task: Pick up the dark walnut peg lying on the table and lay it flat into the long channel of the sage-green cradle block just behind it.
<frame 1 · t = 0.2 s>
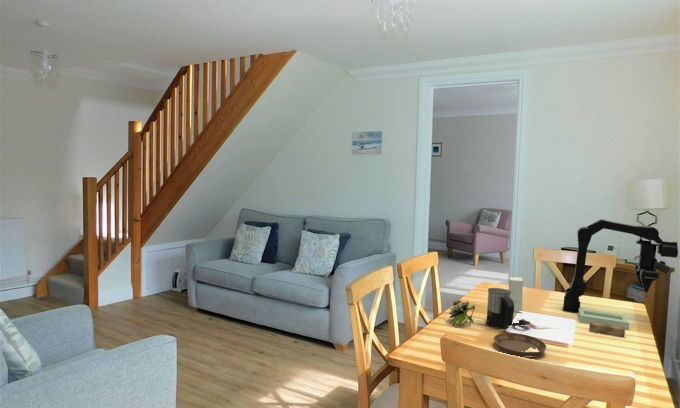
hand: (644, 289, 198), 15 cm above the table, tool pointing down, fingers open, 9 cm apart
skincare box: (514, 310, 209), on the table
plant saucer: (518, 350, 162), on the table
sage cradle: (602, 321, 197), on the table
green leafy plant: (462, 324, 187), on the table
walnut peg: (606, 334, 182), on the table
milk frother: (507, 326, 186), on the table
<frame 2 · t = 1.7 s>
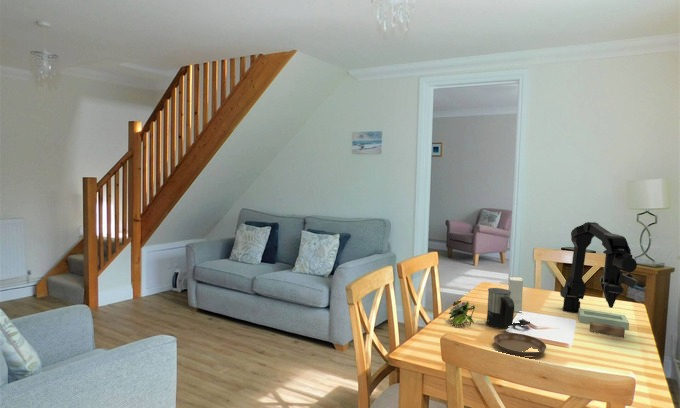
hand: (609, 304, 181), 12 cm above the table, tool pointing down, fingers open, 9 cm apart
nothing on the table moved.
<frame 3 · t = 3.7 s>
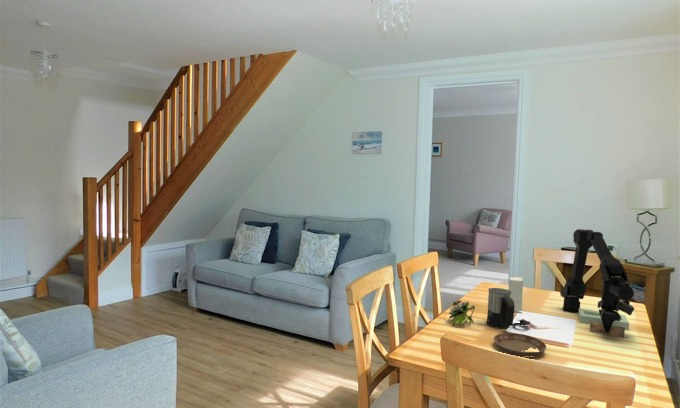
hand: (606, 330, 182), 1 cm above the table, tool pointing down, fingers closed on walnut peg, 4 cm apart
walnut peg: (606, 333, 182), on the table, touching gripper
everything else where it was.
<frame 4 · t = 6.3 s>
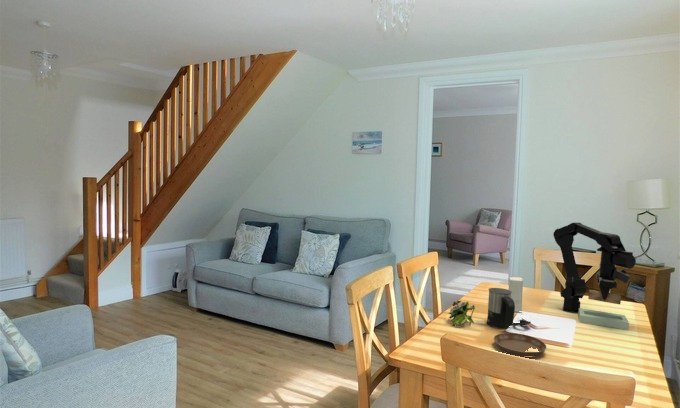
hand: (604, 298, 195), 11 cm above the table, tool pointing down, fingers closed on walnut peg, 4 cm apart
walnut peg: (604, 300, 195), point 10 cm above the table, touching gripper
everything else where it was.
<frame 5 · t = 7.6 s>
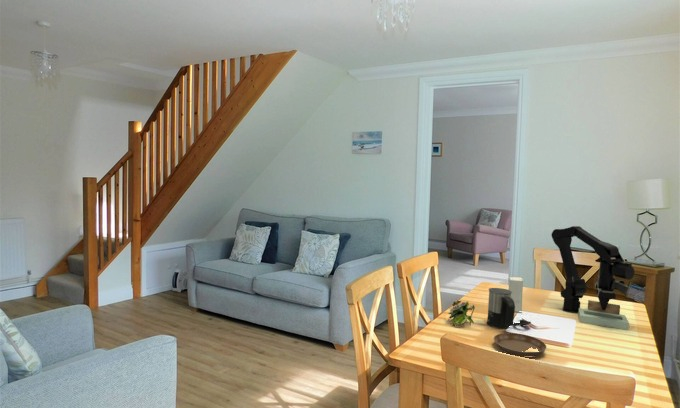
hand: (603, 308, 196), 6 cm above the table, tool pointing down, fingers closed on walnut peg, 4 cm apart
walnut peg: (603, 311, 196), point 5 cm above the table, touching gripper
everything else where it was.
when the fingers open (4 cm above the table, at t = 8.6 s): walnut peg drops 2 cm, resting on sage cradle.
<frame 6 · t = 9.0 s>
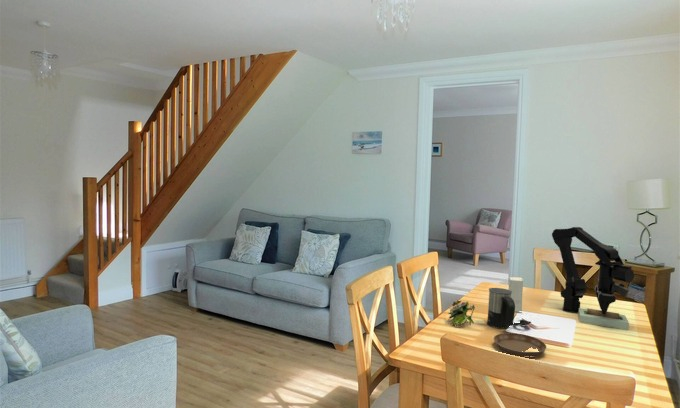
hand: (603, 311, 196), 4 cm above the table, tool pointing down, fingers open, 8 cm apart
walnut peg: (602, 319, 197), point 1 cm above the table, touching sage cradle
everything else where it was.
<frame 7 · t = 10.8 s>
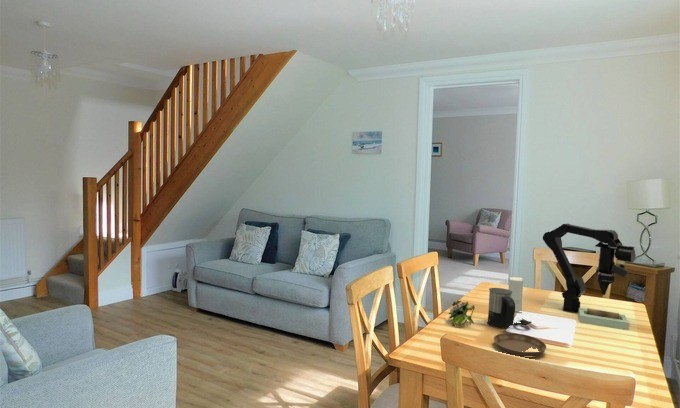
hand: (603, 292, 201), 12 cm above the table, tool pointing down, fingers open, 9 cm apart
nothing on the table moved.
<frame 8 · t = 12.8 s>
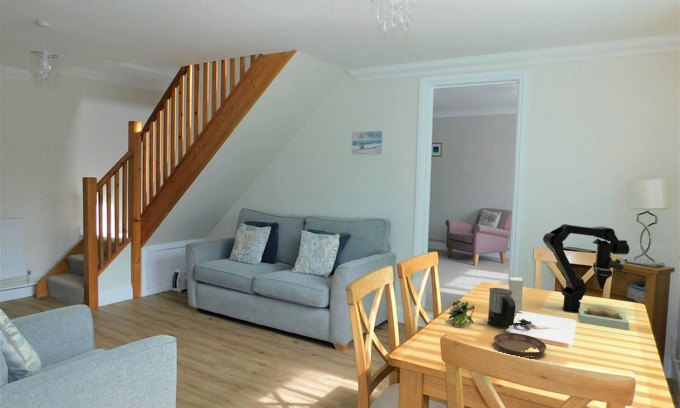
hand: (600, 286, 211), 12 cm above the table, tool pointing down, fingers open, 9 cm apart
nothing on the table moved.
at the end: walnut peg 0.0 cm off-centre on the sage cradle, point 1.0 cm above the sage cradle's base; walnut peg tilted 0°; the gripper is holding nothing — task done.
